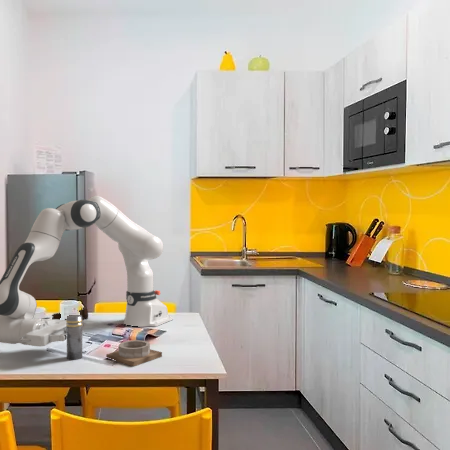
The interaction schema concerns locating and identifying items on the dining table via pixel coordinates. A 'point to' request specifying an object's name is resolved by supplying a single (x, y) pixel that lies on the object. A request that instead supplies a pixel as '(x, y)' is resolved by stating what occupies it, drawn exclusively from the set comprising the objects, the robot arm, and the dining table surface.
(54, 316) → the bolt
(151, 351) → the collar plate
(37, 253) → the robot arm
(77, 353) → the cylinder
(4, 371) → the dining table surface
